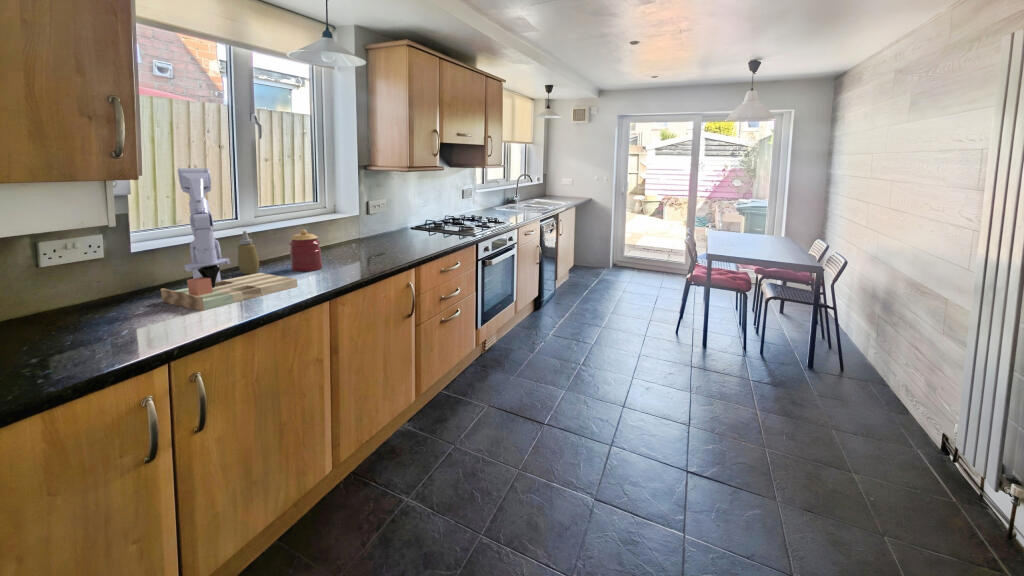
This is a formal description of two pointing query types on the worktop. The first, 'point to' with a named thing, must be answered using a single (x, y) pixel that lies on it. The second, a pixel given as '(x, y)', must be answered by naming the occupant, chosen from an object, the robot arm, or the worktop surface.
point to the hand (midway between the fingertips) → (211, 287)
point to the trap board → (230, 291)
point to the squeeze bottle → (247, 256)
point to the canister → (305, 252)
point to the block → (199, 286)
